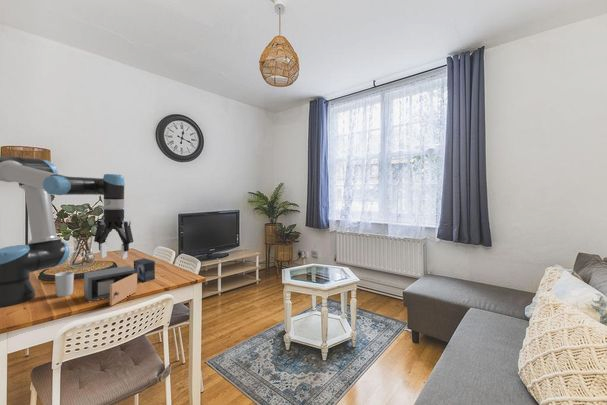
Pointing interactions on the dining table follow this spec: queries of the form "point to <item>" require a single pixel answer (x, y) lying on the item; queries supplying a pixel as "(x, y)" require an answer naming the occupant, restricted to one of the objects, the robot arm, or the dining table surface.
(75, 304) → the dining table surface
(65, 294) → the drinking glass
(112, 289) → the side door
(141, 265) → the small box
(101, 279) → the grey cabinet
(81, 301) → the dining table surface
